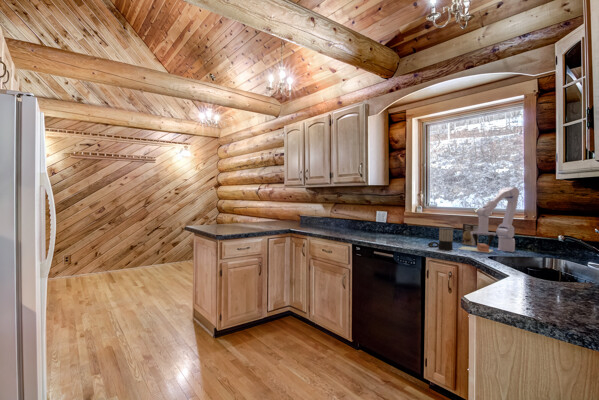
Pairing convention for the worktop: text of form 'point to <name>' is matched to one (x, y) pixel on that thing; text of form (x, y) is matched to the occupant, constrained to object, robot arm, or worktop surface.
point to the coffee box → (469, 234)
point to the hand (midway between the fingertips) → (482, 245)
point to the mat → (473, 249)
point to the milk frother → (444, 239)
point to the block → (483, 247)
